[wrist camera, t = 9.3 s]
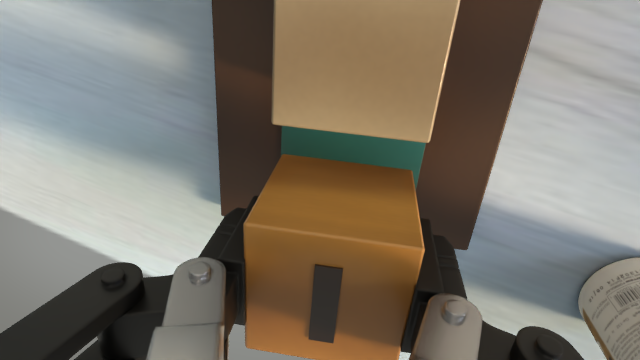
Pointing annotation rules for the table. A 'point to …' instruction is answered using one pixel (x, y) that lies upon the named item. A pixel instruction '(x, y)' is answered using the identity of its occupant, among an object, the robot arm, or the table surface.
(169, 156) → the table surface
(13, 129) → the table surface
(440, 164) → the board
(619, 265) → the pill bottle
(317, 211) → the orange slotted cube
